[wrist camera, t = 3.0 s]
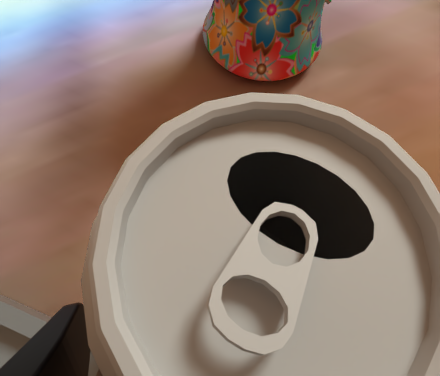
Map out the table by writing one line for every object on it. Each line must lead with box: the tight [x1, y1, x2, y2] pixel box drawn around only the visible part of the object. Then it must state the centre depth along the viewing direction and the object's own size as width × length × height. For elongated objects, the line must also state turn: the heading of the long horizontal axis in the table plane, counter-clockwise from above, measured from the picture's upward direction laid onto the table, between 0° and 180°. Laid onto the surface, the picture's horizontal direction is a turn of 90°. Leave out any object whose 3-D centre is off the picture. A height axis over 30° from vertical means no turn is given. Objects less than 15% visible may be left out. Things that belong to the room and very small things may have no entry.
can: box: [81, 92, 440, 376], centre depth 10 cm, size 8×8×12 cm
